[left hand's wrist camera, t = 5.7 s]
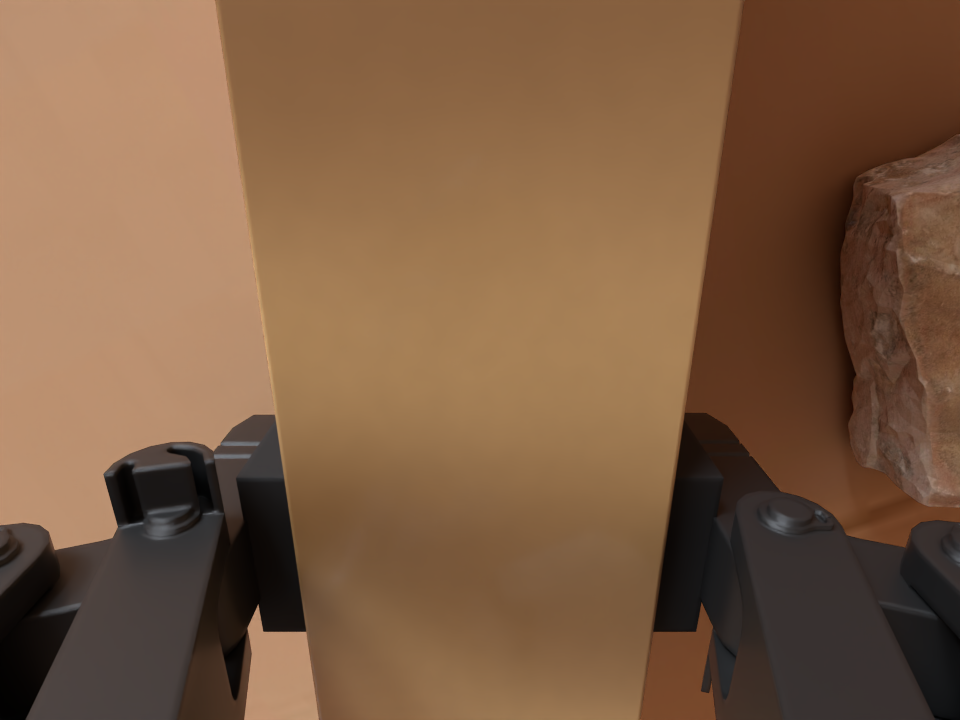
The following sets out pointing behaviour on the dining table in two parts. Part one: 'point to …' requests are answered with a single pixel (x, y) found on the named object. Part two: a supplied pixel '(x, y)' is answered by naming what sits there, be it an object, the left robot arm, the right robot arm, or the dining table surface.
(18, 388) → the dining table surface
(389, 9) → the post
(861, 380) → the stone
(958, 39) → the dining table surface
